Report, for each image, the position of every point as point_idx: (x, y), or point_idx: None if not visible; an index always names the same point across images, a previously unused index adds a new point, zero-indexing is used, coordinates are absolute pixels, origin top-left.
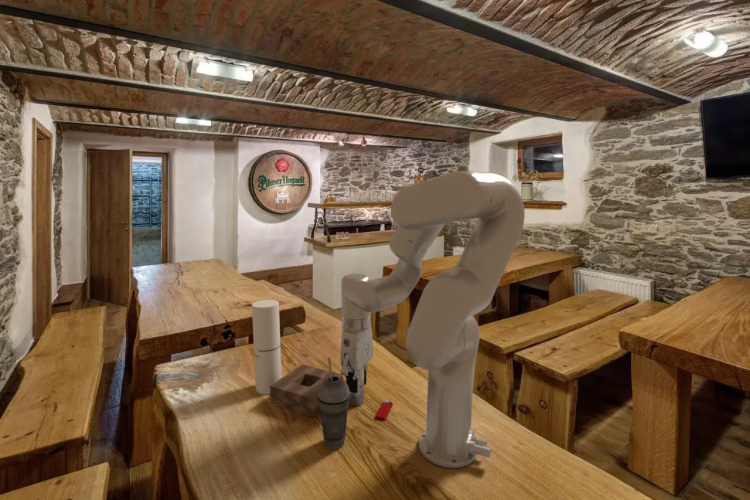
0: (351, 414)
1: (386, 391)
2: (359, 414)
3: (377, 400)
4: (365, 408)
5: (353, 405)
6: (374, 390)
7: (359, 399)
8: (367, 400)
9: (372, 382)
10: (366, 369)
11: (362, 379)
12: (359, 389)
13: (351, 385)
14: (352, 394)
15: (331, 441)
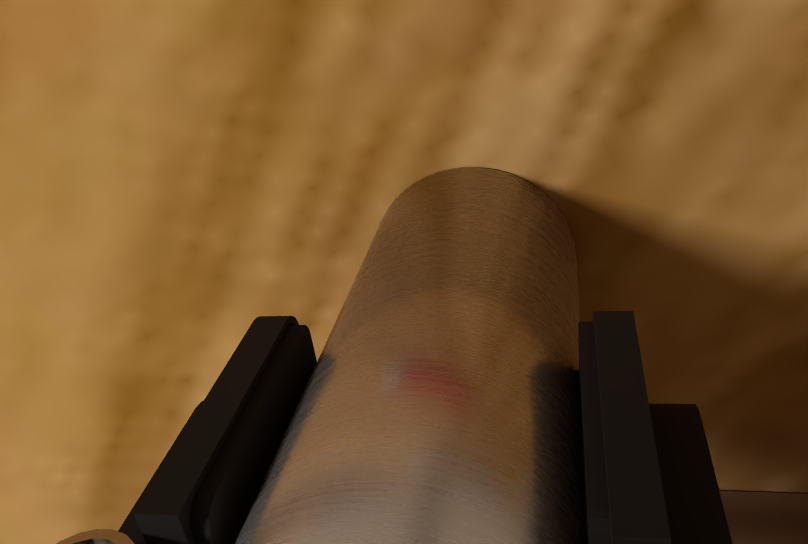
0: (782, 167)
1: (8, 52)
2: (734, 67)
3: (269, 38)
4: (545, 77)
5: (574, 251)
6: (111, 203)
7: (528, 227)
8: (357, 160)
9: (4, 309)
10: (95, 534)
11: (423, 421)
12: (525, 321)
13: (712, 497)
14: None
15: None
